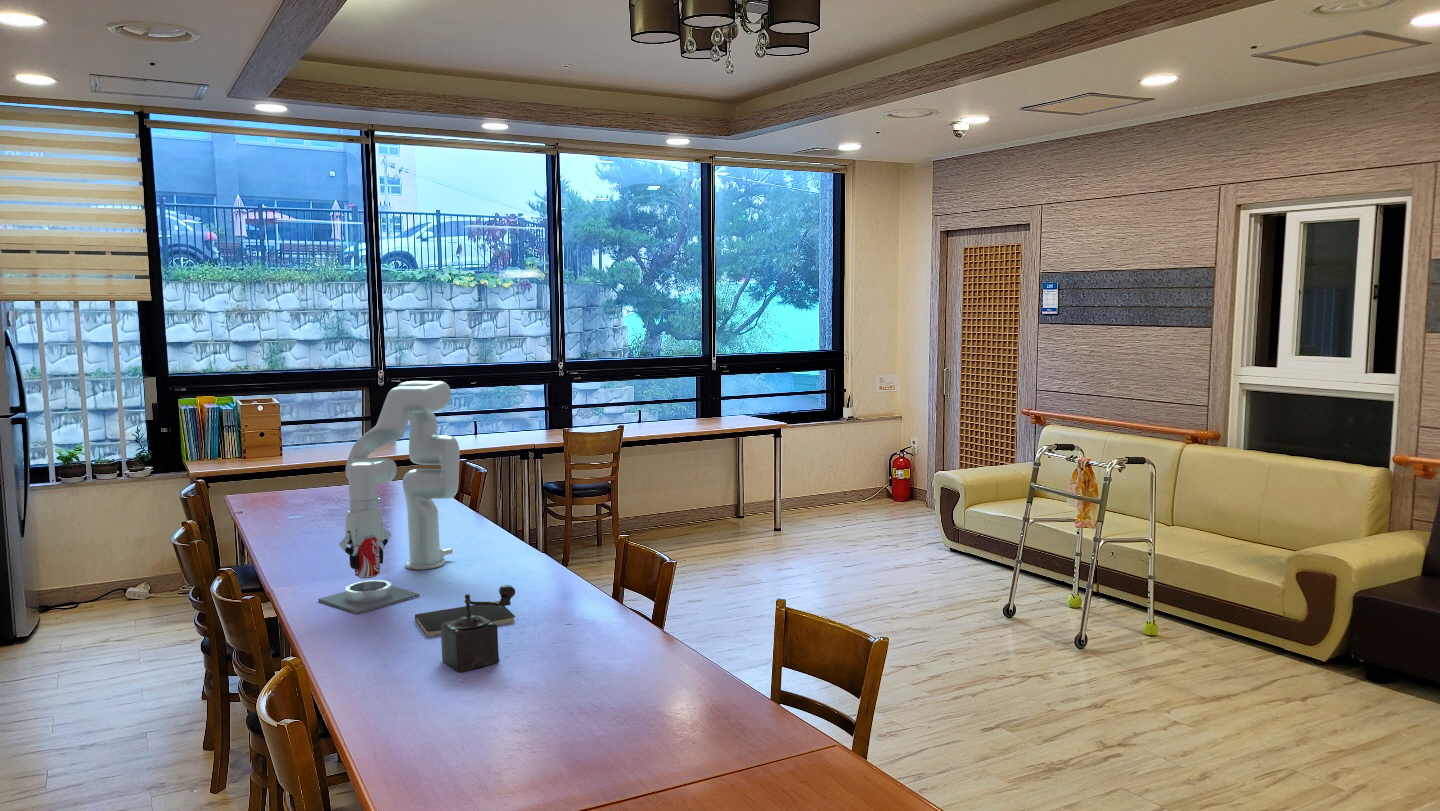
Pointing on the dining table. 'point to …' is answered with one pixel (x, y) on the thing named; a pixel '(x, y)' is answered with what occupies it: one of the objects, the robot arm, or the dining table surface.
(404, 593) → the mat
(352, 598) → the ring collar
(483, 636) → the manual coffee grinder
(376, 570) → the soda can
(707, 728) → the dining table surface
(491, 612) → the hardcover book
